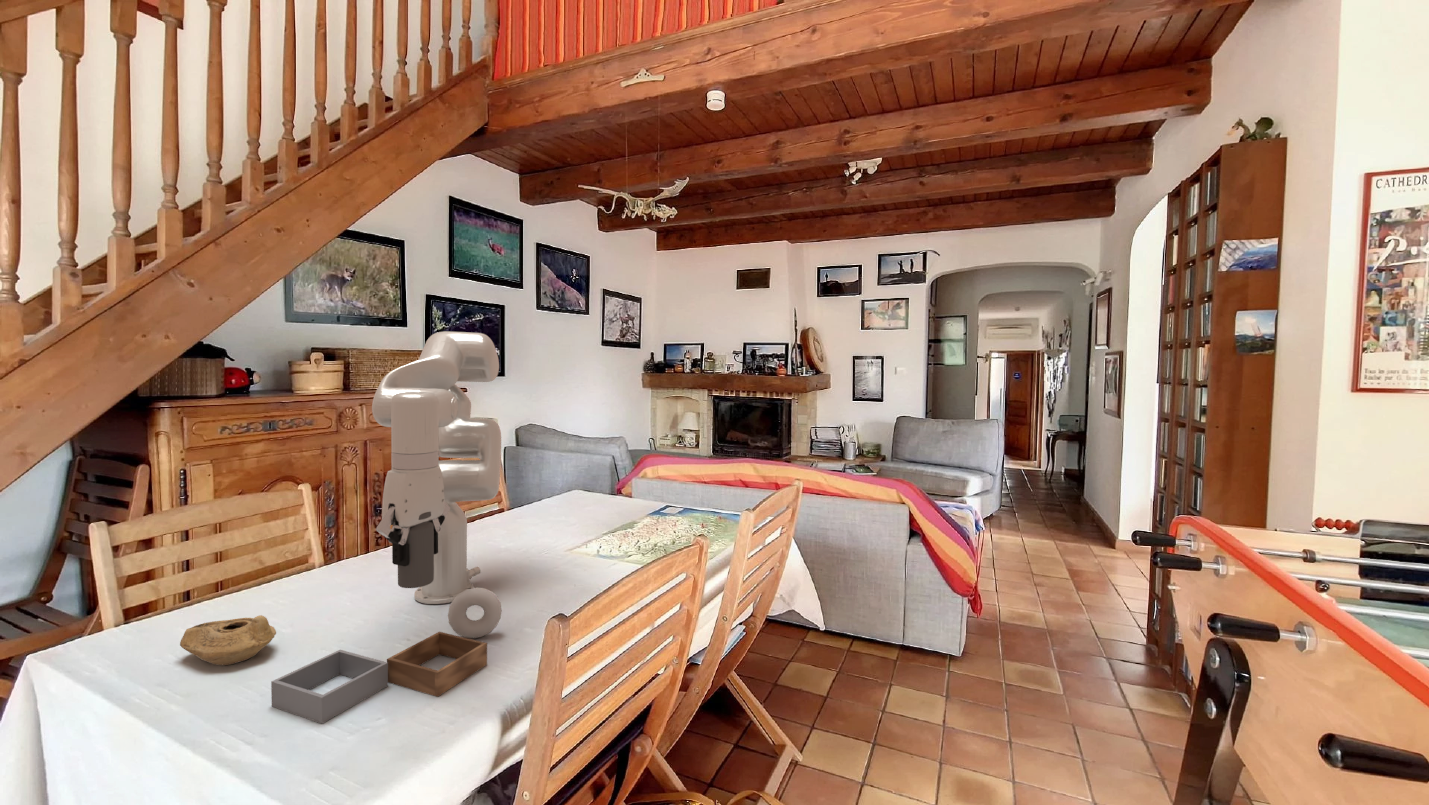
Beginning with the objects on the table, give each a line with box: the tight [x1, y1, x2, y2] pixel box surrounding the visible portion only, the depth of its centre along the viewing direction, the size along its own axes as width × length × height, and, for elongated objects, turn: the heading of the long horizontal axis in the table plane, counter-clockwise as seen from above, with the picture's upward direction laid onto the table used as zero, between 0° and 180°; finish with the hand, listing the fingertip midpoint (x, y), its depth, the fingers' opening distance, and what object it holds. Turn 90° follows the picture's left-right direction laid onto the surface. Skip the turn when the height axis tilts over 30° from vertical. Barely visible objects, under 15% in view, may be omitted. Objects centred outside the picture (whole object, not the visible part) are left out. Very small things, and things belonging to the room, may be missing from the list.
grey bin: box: [270, 649, 389, 725], centre depth 93 cm, size 11×11×4 cm
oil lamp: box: [179, 614, 277, 667], centre depth 103 cm, size 11×15×8 cm
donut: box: [447, 587, 503, 639], centre depth 114 cm, size 10×4×10 cm, turn 106°
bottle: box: [397, 512, 434, 589], centre depth 104 cm, size 6×6×15 cm
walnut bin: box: [386, 631, 488, 697], centre depth 101 cm, size 11×11×4 cm
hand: (415, 557), depth 104 cm, fingers closed on bottle, 5 cm apart
